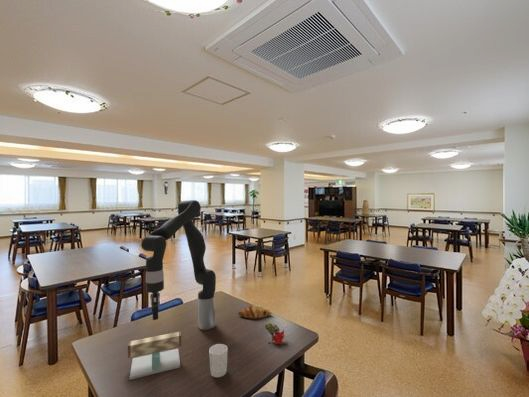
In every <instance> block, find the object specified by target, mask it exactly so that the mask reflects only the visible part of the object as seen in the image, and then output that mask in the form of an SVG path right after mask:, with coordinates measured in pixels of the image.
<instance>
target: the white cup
mask: <svg viewBox="0 0 529 397" xmlns="http://www.w3.org/2000/svg"><path fill="white" fill-rule="evenodd" d="M228 349H229V348H228V345H226V344H224V343H216V344H213V345H211V347H209V350H208V355H209V356H208V357H209V358H208V360H209V368H210V375H211V376H212V377H214V378H221V377H224V376H225V375H226V374H227V372H228V368H227V367H228Z"/></svg>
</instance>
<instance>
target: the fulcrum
mask: <svg viewBox="0 0 529 397" xmlns="http://www.w3.org/2000/svg"><path fill="white" fill-rule="evenodd" d="M180 360H181V359H180V351H179V348H175V349H174V348H172V349H167V350H163V351H157V352H153V353H149V354H145V355H140V356H138V357H137V356H136V357H132V362H131V368H130V374H129V380H134V379H140V378H143V377H146V376H150V375H154V374H158V373H164V372H167V371H172V370H175V369H179V368H181V361H180Z"/></svg>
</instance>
